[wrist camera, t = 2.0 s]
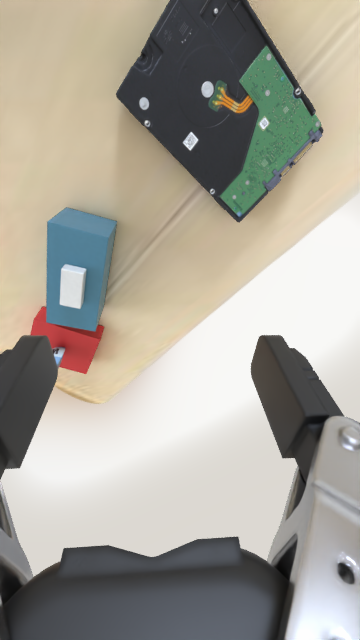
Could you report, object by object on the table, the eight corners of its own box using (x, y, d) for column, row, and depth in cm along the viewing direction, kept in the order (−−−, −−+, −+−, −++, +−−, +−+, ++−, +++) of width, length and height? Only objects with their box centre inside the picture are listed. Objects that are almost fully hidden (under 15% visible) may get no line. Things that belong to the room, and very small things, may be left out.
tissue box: (61, 297, 33) (42, 329, 27) (66, 207, 27) (42, 225, 21) (104, 305, 34) (93, 338, 28) (117, 221, 28) (106, 242, 22)
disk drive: (117, 102, 22) (234, 218, 28) (112, 97, 20) (240, 225, 26) (200, -43, 18) (316, 129, 24) (206, -70, 16) (332, 128, 22)
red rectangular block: (33, 343, 37) (13, 377, 32) (42, 306, 33) (20, 337, 28) (90, 360, 39) (79, 394, 34) (104, 326, 36) (94, 359, 31)
